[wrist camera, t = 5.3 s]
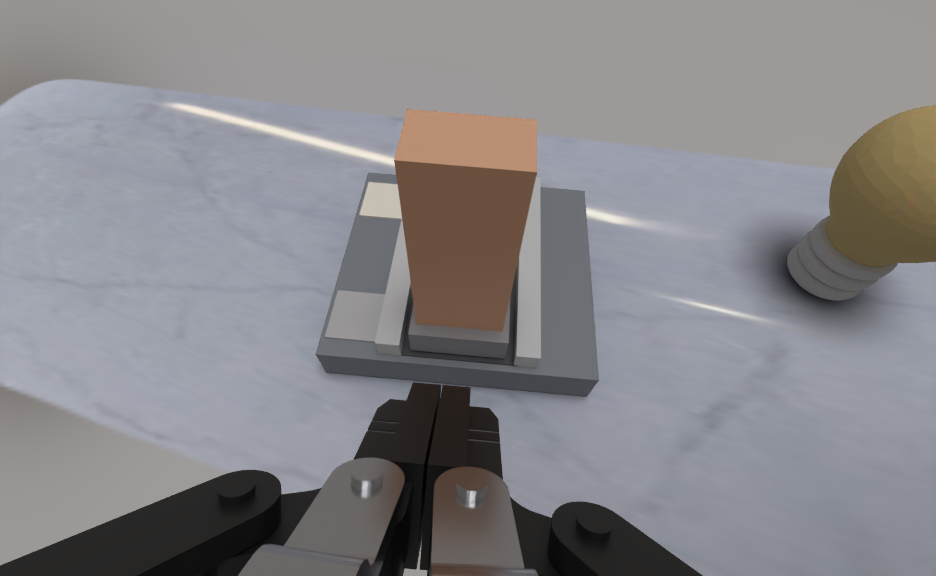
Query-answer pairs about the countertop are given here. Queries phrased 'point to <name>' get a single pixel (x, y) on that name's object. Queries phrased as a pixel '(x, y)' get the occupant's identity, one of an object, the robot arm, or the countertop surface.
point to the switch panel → (531, 302)
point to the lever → (464, 225)
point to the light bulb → (874, 210)
